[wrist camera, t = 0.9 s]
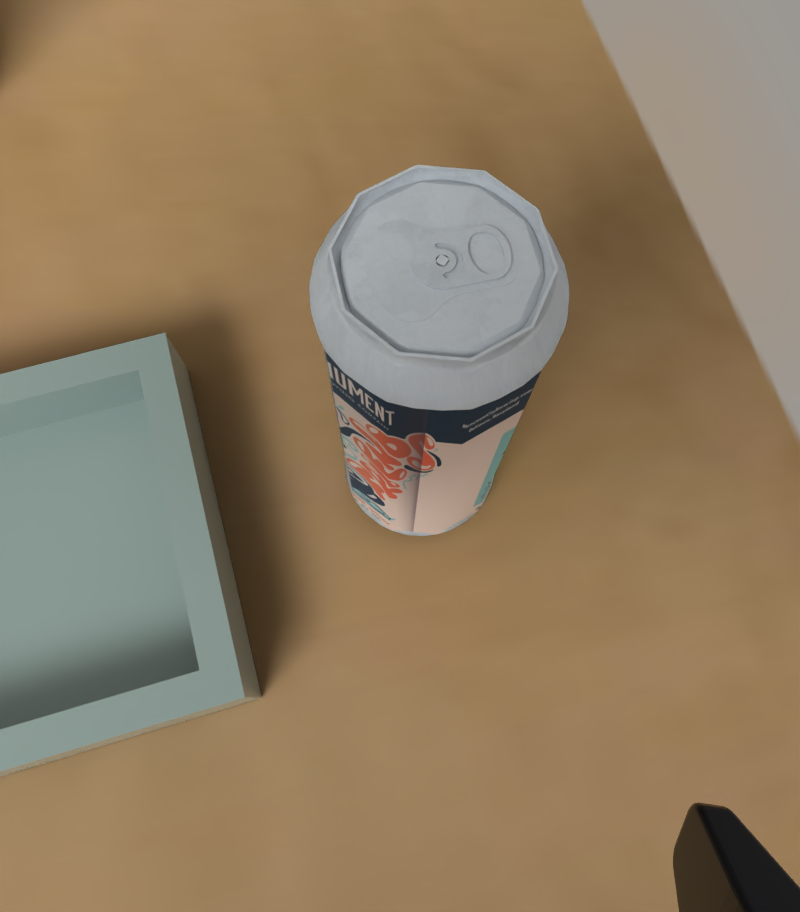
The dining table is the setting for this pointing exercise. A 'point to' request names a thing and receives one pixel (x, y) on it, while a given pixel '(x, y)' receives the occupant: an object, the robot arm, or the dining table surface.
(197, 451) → the dish
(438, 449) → the beer can
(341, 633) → the dining table surface
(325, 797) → the dining table surface
